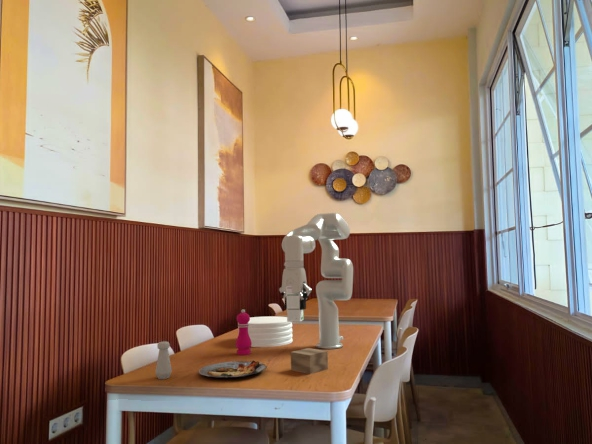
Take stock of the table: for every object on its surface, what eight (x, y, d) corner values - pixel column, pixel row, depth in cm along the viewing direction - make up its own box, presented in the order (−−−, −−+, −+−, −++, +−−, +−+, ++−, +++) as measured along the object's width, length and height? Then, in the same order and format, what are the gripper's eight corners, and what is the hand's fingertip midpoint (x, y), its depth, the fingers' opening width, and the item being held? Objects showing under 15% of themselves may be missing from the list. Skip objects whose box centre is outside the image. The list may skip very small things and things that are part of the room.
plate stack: (292, 336, 254) (291, 315, 255) (293, 346, 226) (292, 322, 227) (240, 338, 253) (240, 317, 254) (235, 348, 225) (235, 324, 226)
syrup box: (300, 322, 184) (300, 285, 185) (286, 321, 186) (285, 285, 187) (303, 320, 190) (303, 284, 191) (290, 320, 191) (289, 284, 192)
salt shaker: (157, 376, 173) (157, 340, 174) (172, 375, 173) (172, 340, 174) (153, 380, 167) (153, 343, 168) (170, 379, 167) (169, 343, 168)
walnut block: (308, 365, 184) (308, 347, 185) (327, 369, 177) (327, 351, 178) (291, 370, 177) (290, 351, 178) (310, 374, 170) (309, 355, 171)
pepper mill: (254, 352, 212) (253, 308, 214) (247, 355, 206) (246, 310, 207) (240, 351, 215) (239, 308, 216) (233, 355, 208) (232, 310, 209)
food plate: (273, 366, 183) (273, 357, 183) (255, 382, 160) (255, 372, 161) (214, 366, 189) (214, 357, 189) (189, 382, 166) (188, 372, 166)
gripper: (272, 265, 192) (273, 308, 191) (305, 265, 181) (306, 311, 180) (284, 265, 198) (285, 307, 197) (316, 265, 187) (317, 309, 185)
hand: (295, 308), depth 188 cm, fingers closed on syrup box, 7 cm apart
